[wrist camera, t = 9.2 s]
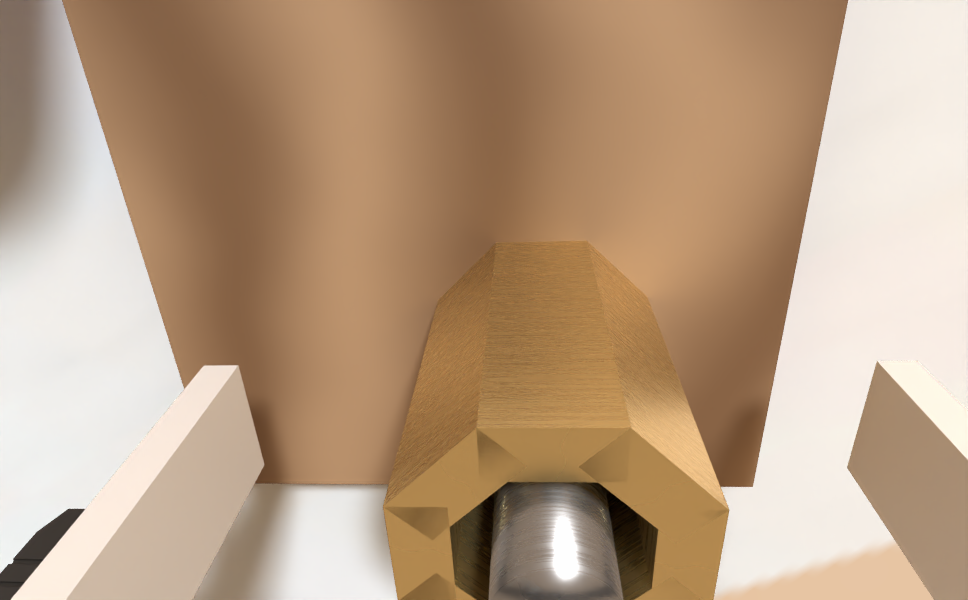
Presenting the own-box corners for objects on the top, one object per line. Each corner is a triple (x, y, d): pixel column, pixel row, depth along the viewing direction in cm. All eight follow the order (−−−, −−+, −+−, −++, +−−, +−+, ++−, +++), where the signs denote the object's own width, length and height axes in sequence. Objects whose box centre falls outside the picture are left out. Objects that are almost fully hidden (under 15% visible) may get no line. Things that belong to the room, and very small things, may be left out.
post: (494, 380, 17) (471, 672, 10) (489, 294, 16) (461, 554, 9) (591, 380, 17) (641, 677, 10) (595, 292, 16) (654, 558, 8)
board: (234, 450, 21) (214, 483, 19) (95, -35, 14) (50, -36, 13) (736, 451, 19) (752, 486, 18) (829, -75, 13) (864, -81, 12)
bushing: (448, 417, 18) (406, 658, 11) (433, 243, 15) (370, 427, 9) (637, 417, 17) (701, 665, 11) (652, 239, 15) (743, 428, 9)
